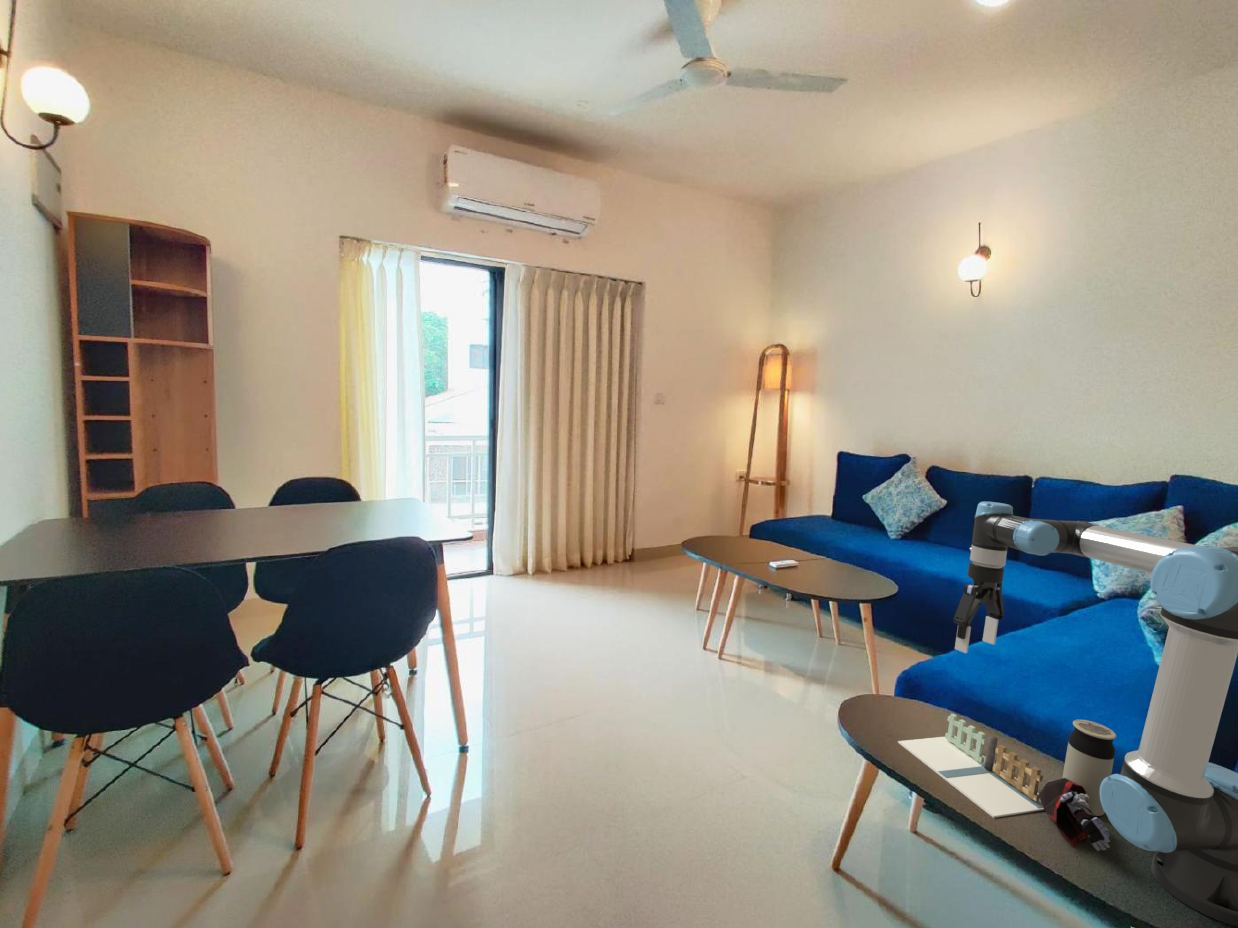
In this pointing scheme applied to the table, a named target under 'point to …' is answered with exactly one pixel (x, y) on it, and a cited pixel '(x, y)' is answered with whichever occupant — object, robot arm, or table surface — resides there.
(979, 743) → the fence gate
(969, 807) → the table surface
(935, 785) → the table surface
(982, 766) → the card
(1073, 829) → the toy
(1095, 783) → the travel mug
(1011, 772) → the fence fixed
